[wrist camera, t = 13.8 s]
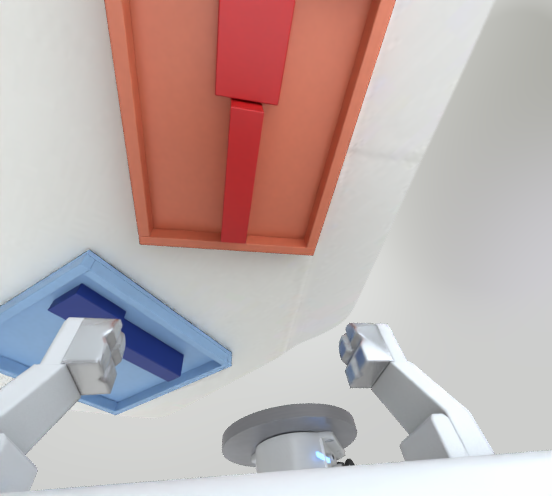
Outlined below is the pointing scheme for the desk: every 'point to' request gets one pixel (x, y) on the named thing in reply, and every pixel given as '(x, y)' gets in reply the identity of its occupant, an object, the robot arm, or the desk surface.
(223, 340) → the desk surface
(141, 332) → the navy stepped bar
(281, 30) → the red stepped bar
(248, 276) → the desk surface
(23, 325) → the blue tray
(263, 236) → the red tray
